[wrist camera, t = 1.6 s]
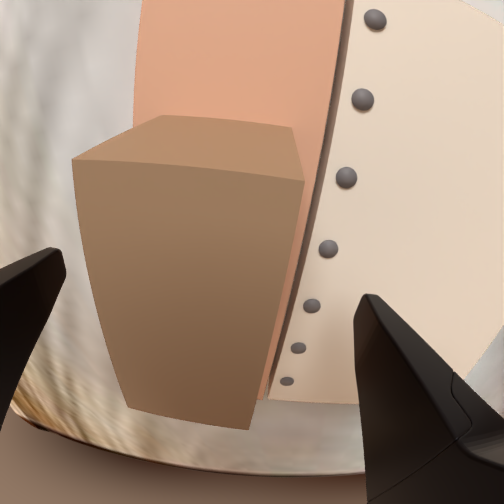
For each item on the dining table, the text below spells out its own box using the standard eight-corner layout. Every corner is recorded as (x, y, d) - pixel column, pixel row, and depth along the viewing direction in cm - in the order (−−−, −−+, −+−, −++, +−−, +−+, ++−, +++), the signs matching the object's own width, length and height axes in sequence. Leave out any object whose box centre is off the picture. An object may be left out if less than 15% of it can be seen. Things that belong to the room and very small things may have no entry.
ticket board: (570, 88, 7) (591, 95, 6) (439, 383, 18) (445, 401, 16) (348, -27, 7) (359, -40, 6) (268, 378, 18) (267, 400, 16)
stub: (340, -29, 7) (404, -117, 2) (263, 379, 18) (256, 481, 12) (166, -41, 7) (67, -111, 2) (163, 363, 18) (133, 458, 12)
